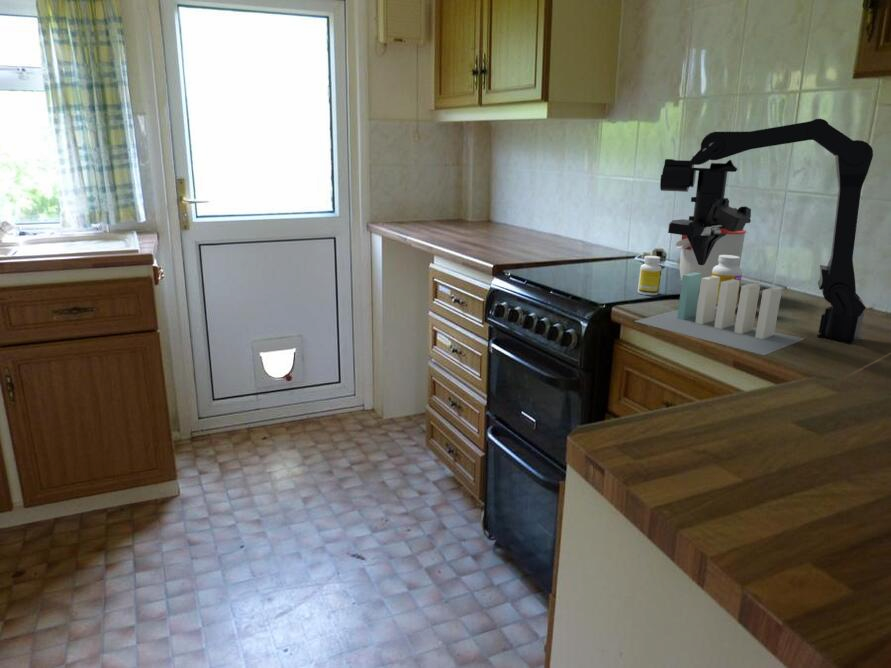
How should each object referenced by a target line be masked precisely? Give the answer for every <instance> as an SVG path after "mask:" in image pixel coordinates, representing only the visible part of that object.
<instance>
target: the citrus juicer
mask: <svg viewBox="0 0 891 668" xmlns="http://www.w3.org/2000/svg"><path fill="white" fill-rule="evenodd" d="M720 230H721V233H724V234H726V235H725V236H723V237H722V238H720V239H719V240H717V241H716V243H715V244H714V246H713V248H712V250H711V252H710V254H709V256H708V259H707V261H706V263H705V265H698V262H697V260H696V257H695V254H694V251H693V249H692V246H691V244H690V242H689V240H688V238H687V236H686V235H681V239H680V240H678V241H676V244H675V248H676V249H678V250H679V249H680V257H679V276H680V283H681V284H682V277H683V275H685V274H690V273H701V278H705V277H710V276H712V270H713V268H714V267H715V266H717V265H718V264H719V260H718V259H719V255H733V256H738V257H740V262H739V264H738V267H739V268H740V267H741V261H742V253H743V248H744V242H745V234H747V231H746V229H743V230H742V231H735V232H731V231H728V230H726V229H724V228H720ZM700 285H701V281H700ZM699 292H700V289H699Z"/></svg>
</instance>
